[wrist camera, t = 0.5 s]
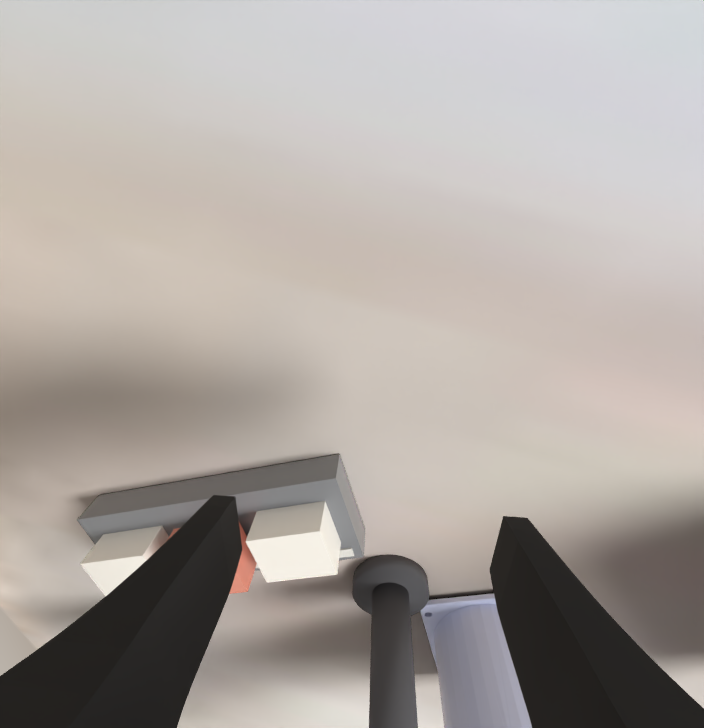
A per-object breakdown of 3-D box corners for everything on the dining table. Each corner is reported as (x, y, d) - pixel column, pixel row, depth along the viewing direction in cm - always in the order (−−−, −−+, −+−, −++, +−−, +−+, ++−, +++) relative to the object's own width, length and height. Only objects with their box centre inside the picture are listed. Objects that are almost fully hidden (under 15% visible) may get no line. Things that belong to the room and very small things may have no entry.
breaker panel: (365, 529, 24) (362, 589, 21) (143, 559, 27) (106, 617, 23) (339, 453, 22) (331, 507, 18) (99, 495, 25) (50, 548, 21)
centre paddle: (258, 558, 23) (247, 591, 21) (197, 566, 23) (181, 599, 21) (238, 519, 21) (224, 550, 20) (173, 528, 22) (155, 559, 20)
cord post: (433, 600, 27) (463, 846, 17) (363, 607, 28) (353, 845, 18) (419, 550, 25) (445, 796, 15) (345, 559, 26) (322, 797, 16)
